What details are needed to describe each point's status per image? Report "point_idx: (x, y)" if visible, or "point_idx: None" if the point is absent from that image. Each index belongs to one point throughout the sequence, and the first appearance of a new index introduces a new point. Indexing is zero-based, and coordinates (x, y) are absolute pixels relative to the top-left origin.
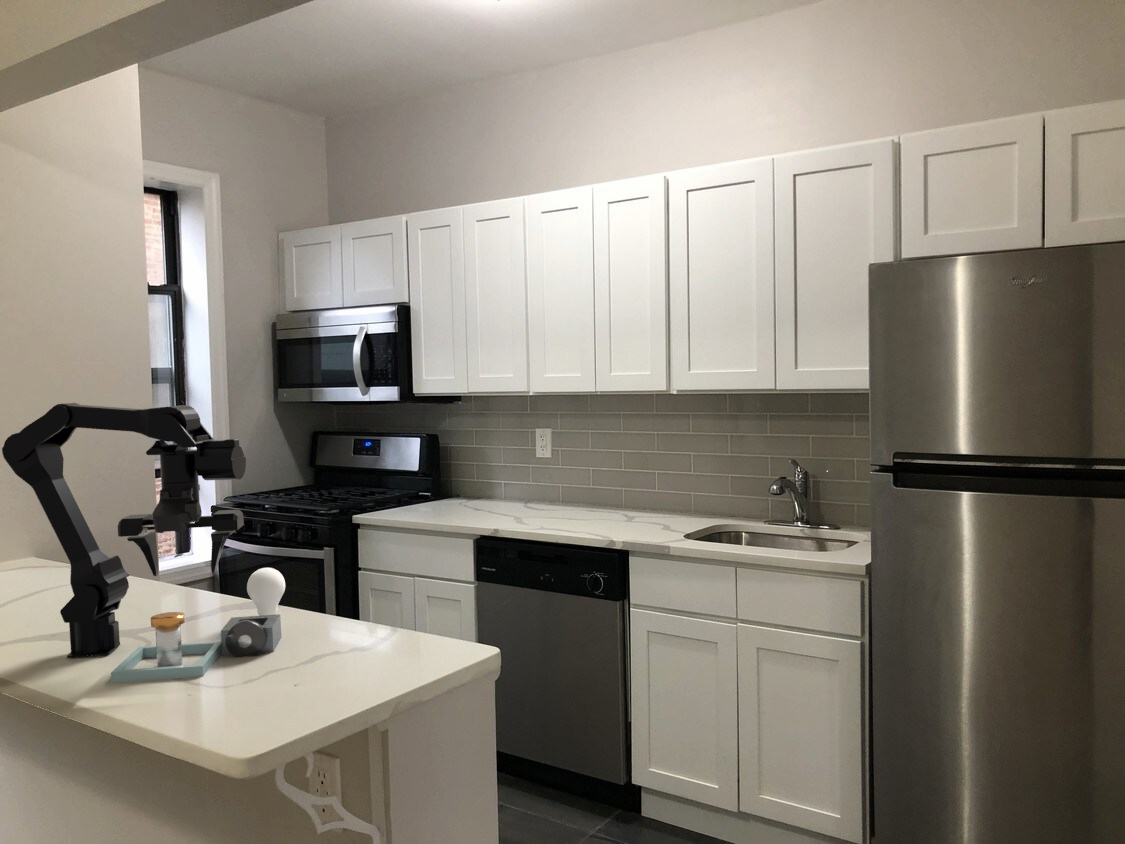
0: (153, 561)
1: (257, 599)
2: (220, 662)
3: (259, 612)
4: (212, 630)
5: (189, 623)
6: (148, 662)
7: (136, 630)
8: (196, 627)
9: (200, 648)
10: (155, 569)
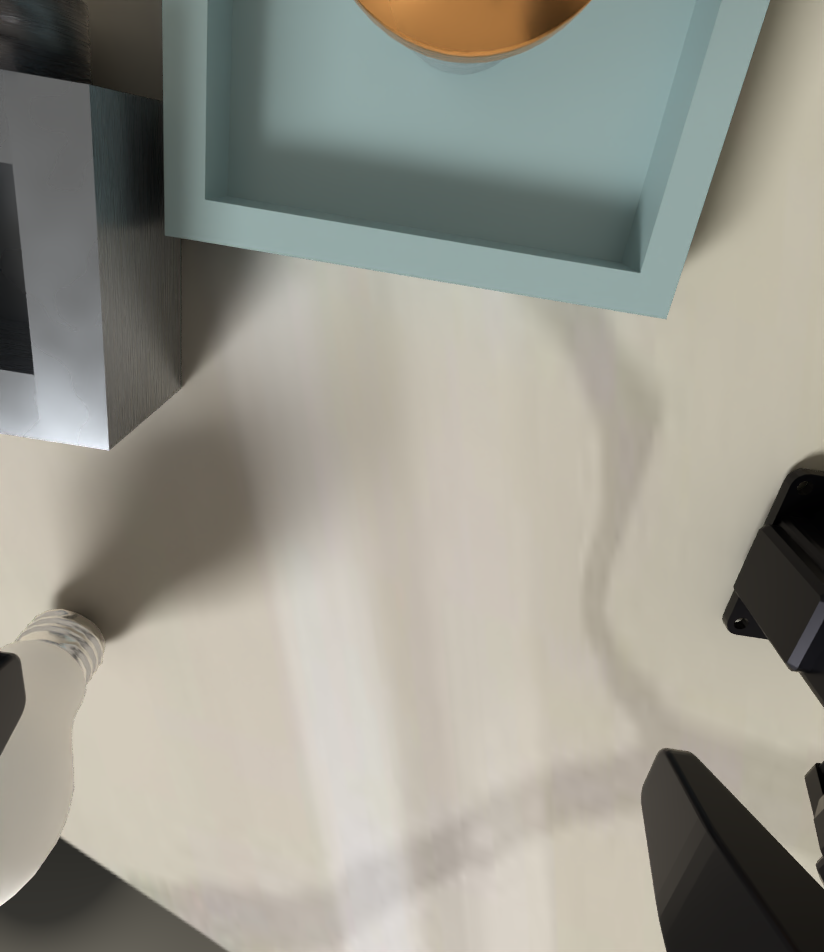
0: (774, 917)
1: None
2: None
3: (62, 664)
4: (329, 681)
5: (438, 802)
6: None
7: None
8: (404, 744)
9: (300, 212)
10: (697, 808)
